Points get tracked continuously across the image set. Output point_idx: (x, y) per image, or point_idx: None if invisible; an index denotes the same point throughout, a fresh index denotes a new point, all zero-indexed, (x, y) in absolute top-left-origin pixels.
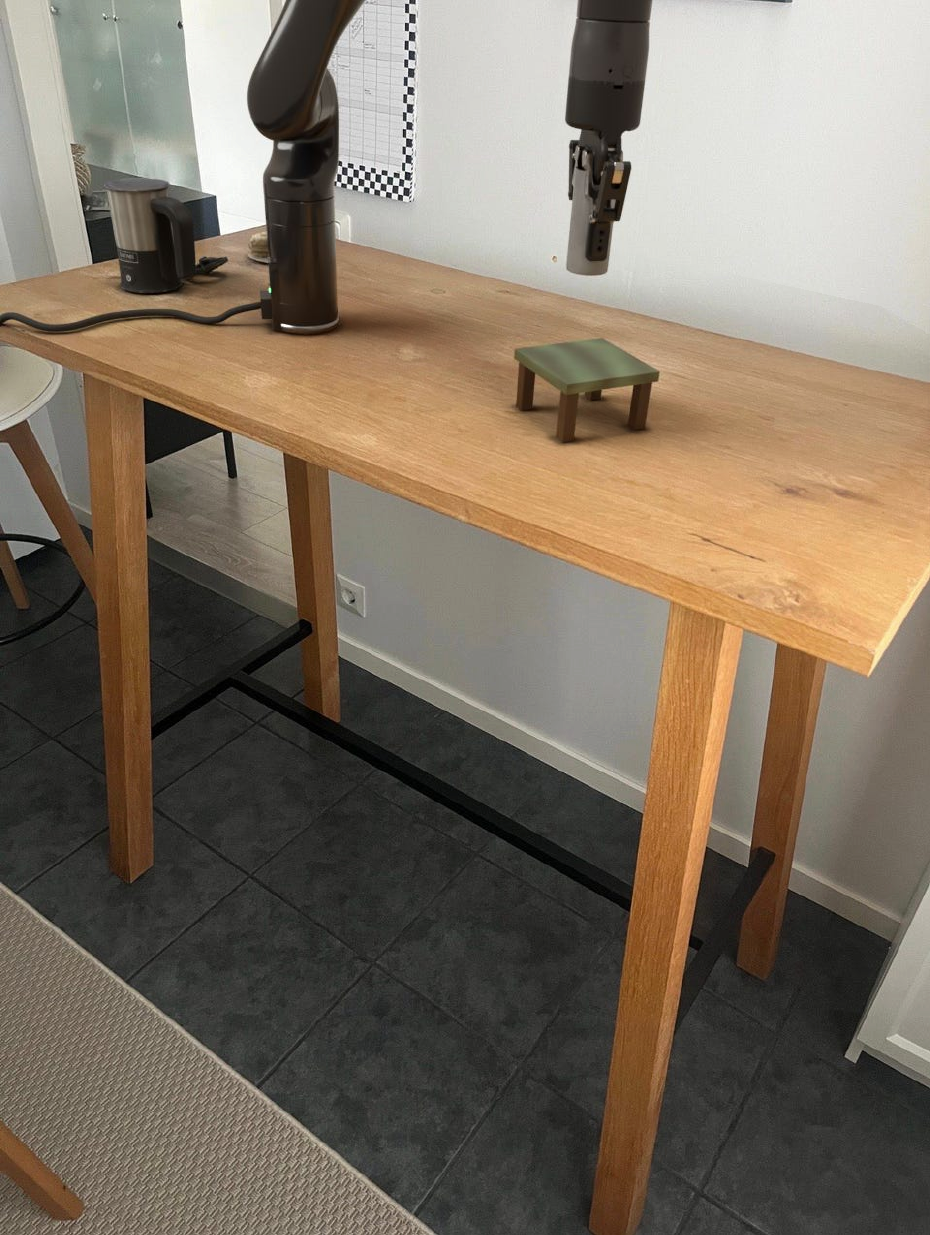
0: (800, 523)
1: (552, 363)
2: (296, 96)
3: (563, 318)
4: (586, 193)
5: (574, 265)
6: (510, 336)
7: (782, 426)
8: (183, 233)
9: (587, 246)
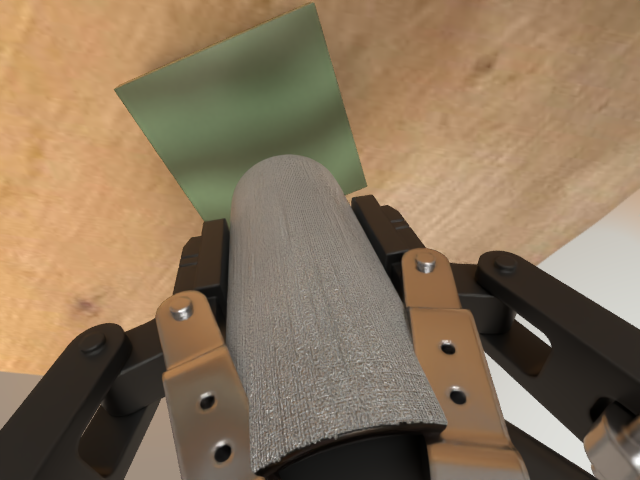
0: (2, 303)
1: (229, 77)
2: None
3: (611, 149)
4: (188, 371)
5: (246, 179)
6: (584, 53)
7: None
8: None
9: (206, 239)
